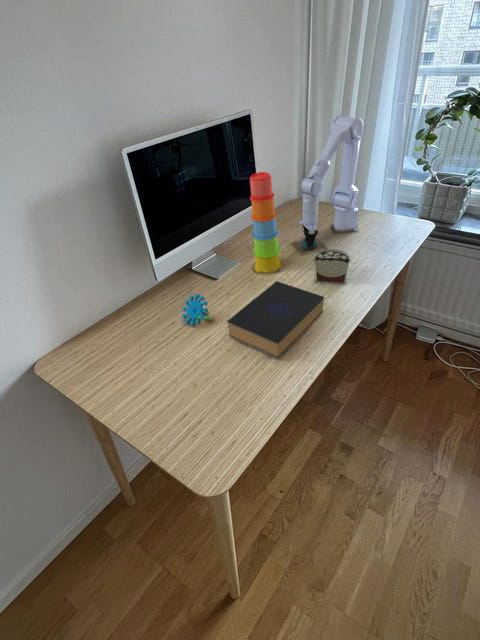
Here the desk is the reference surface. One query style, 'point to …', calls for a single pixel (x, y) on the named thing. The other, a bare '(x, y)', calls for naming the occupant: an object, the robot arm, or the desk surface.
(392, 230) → the desk surface
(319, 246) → the ring toss
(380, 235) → the desk surface
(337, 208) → the robot arm
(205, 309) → the blue knobbed toy
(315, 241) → the ring
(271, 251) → the stacking cups
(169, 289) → the desk surface
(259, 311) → the book
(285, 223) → the desk surface
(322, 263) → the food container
